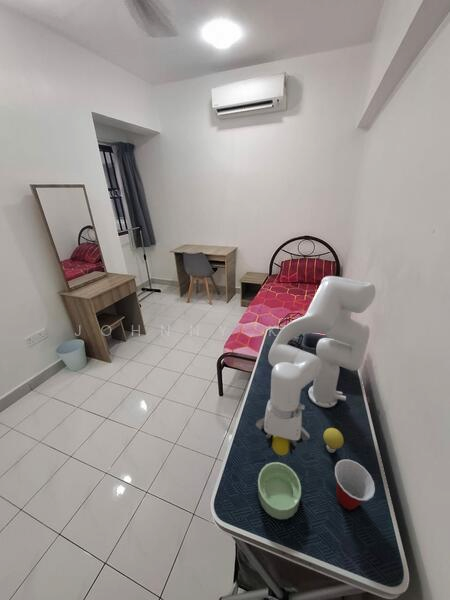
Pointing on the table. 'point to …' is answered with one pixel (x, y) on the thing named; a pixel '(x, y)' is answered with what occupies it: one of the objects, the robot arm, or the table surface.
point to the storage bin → (312, 342)
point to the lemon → (280, 445)
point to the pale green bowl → (279, 490)
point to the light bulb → (333, 439)
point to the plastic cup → (353, 484)
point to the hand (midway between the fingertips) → (280, 445)
